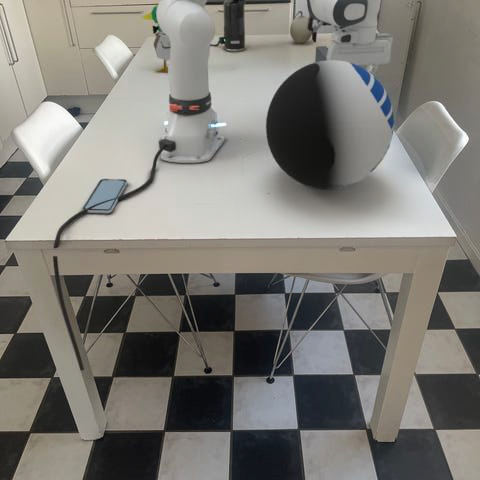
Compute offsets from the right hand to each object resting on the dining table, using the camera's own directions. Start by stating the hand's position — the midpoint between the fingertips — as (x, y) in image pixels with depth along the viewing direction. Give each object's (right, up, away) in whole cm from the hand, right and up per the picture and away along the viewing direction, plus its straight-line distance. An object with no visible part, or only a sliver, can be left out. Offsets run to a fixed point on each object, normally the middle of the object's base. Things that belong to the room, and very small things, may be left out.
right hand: (325, 41), depth 201 cm
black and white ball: (-12, -63, -69) cm, 94 cm away
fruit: (-5, +15, +42) cm, 45 cm away
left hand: (+5, -25, -33) cm, 42 cm away
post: (+2, -21, -10) cm, 23 cm away
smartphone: (-67, -67, -73) cm, 120 cm away
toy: (-61, -8, +11) cm, 63 cm away
